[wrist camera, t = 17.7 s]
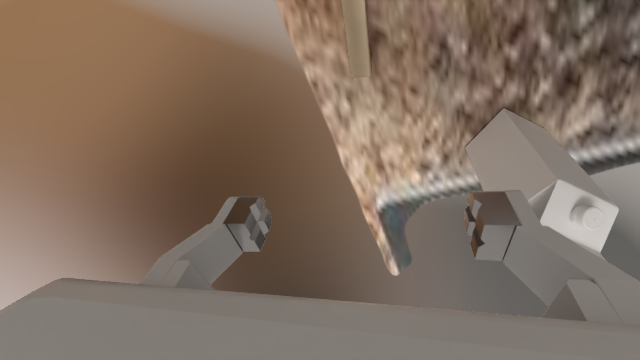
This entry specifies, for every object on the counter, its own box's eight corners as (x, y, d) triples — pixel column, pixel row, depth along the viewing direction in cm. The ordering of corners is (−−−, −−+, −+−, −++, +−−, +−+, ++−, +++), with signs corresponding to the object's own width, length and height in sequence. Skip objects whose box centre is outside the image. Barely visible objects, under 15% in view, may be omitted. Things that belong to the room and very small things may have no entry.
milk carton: (503, 165, 41) (568, 279, 26) (464, 146, 40) (509, 253, 26) (546, 129, 36) (652, 243, 22) (502, 107, 35) (584, 210, 21)
